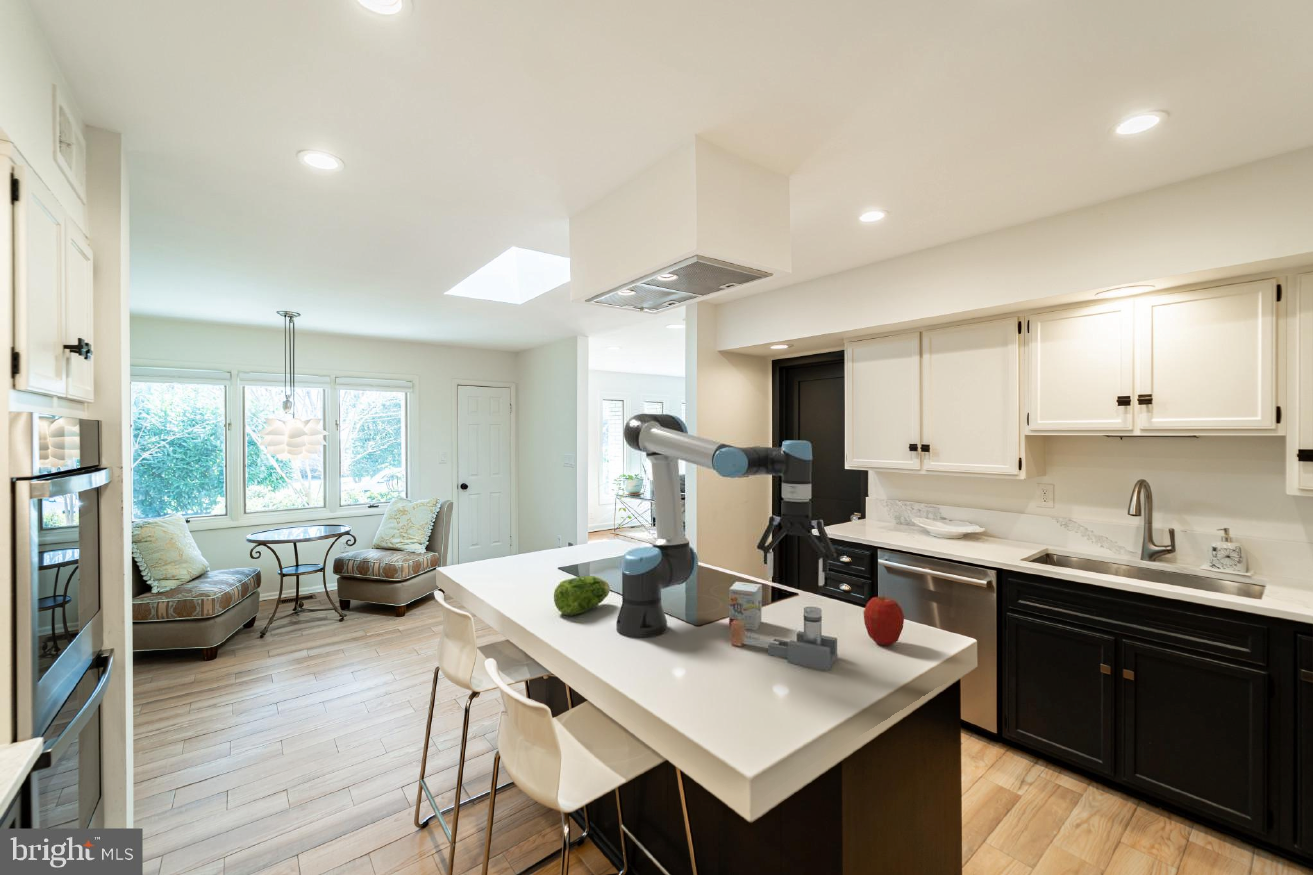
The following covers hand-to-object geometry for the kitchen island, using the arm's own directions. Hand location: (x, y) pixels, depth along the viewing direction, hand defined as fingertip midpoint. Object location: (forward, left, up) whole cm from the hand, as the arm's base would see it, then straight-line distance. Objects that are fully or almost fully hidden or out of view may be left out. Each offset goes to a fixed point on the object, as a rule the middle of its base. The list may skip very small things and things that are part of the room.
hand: (795, 580), depth 145 cm
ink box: (-20, +17, -20) cm, 33 cm away
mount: (+2, 0, -20) cm, 20 cm away
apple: (+19, +21, -20) cm, 34 cm away
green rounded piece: (-71, +3, -20) cm, 74 cm away
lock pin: (-11, 0, -19) cm, 22 cm away
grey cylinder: (+5, 0, -20) cm, 20 cm away
